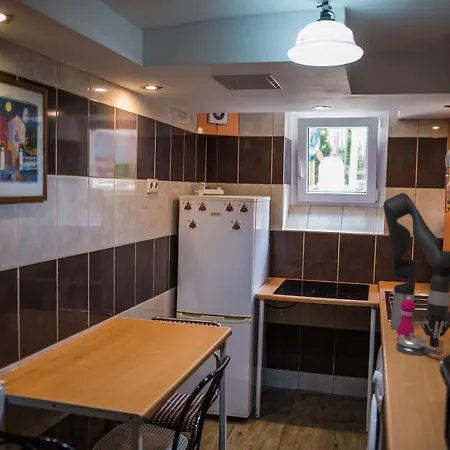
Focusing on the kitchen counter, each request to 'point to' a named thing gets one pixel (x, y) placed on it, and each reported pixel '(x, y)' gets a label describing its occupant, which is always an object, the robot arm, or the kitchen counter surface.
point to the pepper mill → (406, 318)
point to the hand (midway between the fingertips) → (433, 347)
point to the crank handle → (419, 343)
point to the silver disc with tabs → (410, 351)
